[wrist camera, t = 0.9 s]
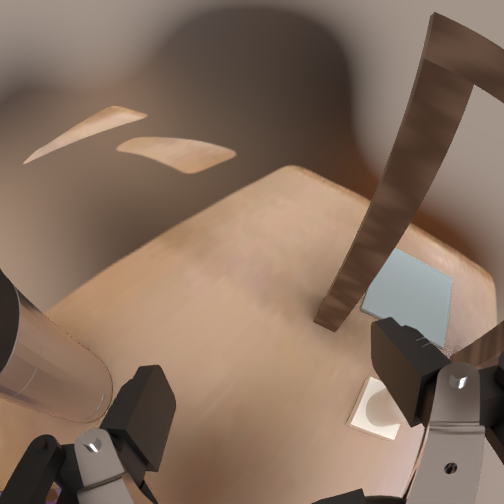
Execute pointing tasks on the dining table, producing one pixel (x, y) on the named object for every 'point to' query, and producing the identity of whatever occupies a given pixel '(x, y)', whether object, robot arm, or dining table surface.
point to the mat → (411, 296)
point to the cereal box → (50, 496)
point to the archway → (421, 167)
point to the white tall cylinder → (376, 411)
